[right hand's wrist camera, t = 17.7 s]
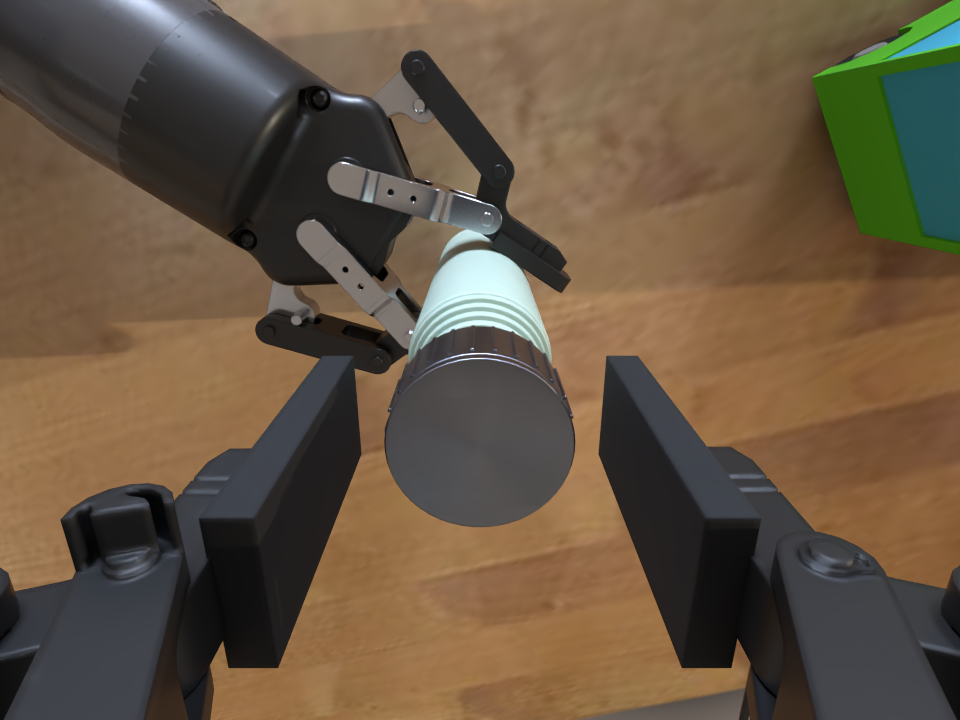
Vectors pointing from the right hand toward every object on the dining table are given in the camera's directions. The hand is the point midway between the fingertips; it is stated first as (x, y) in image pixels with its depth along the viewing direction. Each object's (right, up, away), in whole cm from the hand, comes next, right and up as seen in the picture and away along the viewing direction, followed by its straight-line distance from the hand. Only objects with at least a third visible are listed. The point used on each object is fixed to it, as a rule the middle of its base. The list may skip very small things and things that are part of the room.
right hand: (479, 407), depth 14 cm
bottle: (0, +6, +17) cm, 18 cm away
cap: (0, -1, -2) cm, 2 cm away
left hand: (+2, +3, +12) cm, 12 cm away
